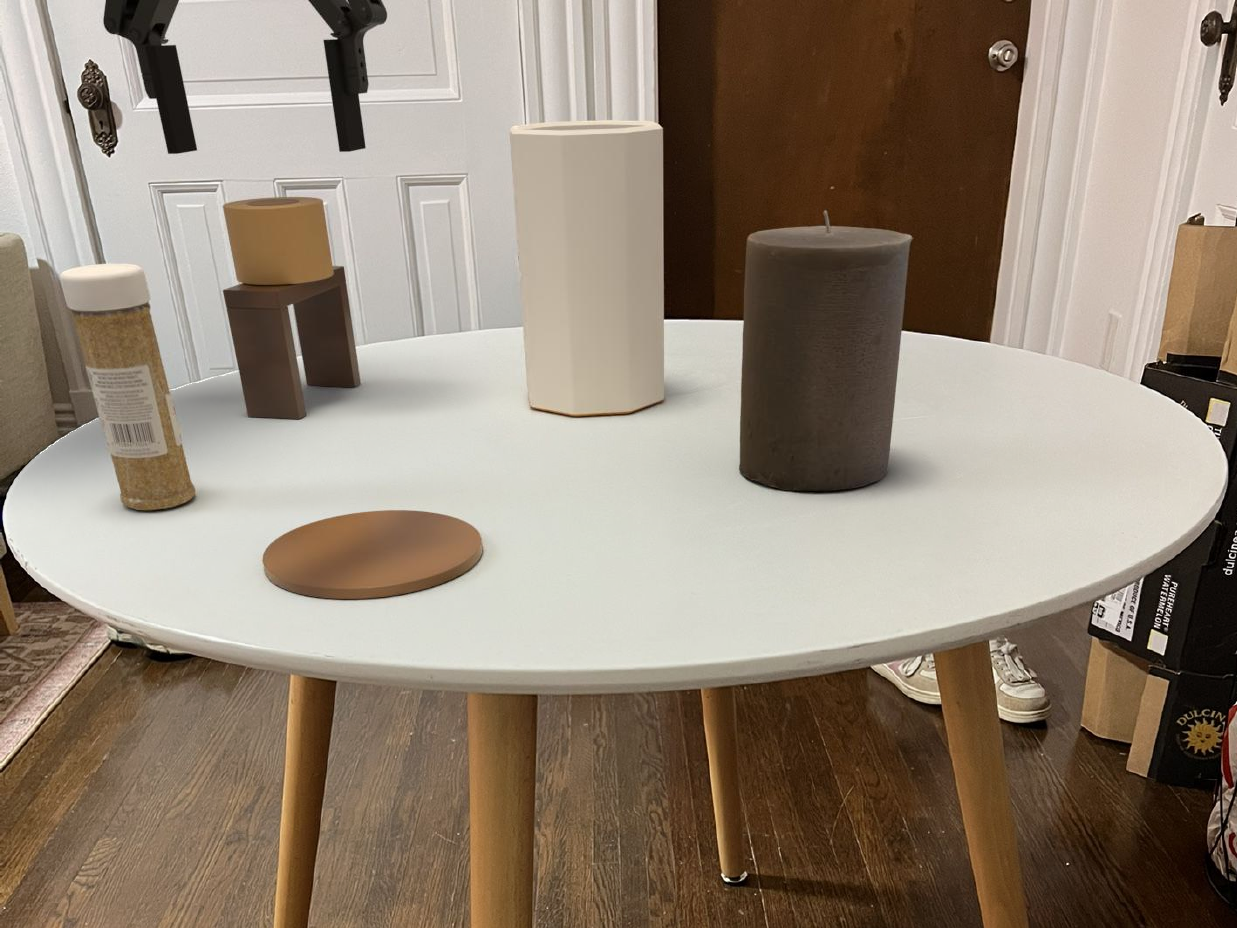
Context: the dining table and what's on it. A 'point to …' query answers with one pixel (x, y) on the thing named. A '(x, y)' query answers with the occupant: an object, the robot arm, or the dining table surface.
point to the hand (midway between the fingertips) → (266, 151)
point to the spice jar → (129, 383)
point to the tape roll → (279, 240)
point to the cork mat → (372, 554)
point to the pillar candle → (820, 355)
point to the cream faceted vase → (591, 263)
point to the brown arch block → (291, 342)
